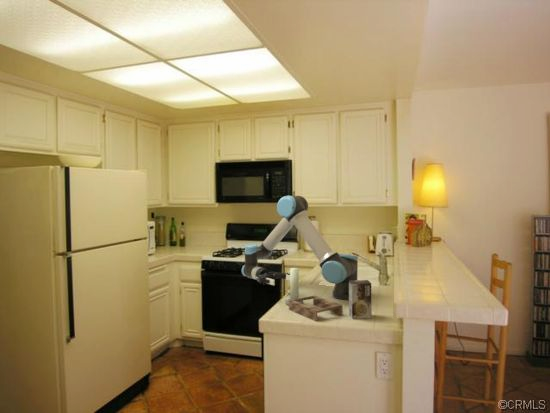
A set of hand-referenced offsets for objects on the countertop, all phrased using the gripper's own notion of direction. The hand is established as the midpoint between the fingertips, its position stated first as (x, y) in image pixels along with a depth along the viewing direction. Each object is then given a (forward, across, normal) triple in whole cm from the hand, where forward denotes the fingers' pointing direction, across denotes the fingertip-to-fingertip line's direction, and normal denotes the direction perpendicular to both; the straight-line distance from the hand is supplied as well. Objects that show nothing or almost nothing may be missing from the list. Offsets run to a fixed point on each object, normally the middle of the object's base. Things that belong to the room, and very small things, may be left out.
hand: (284, 280), depth 202 cm
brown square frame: (+24, +1, -10) cm, 26 cm away
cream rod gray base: (+8, 0, -10) cm, 13 cm away
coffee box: (+42, -10, -11) cm, 44 cm away
